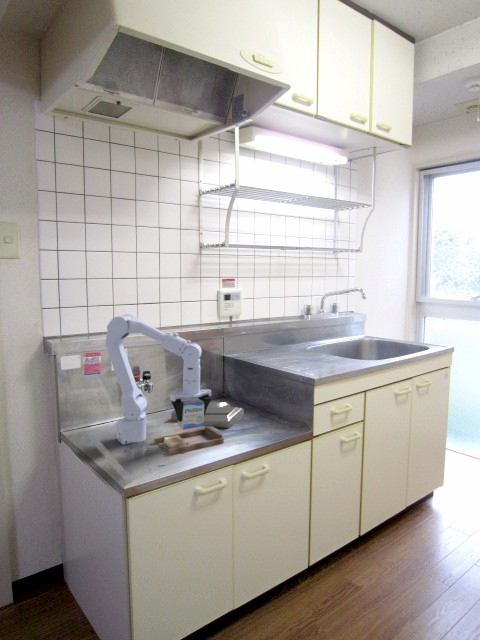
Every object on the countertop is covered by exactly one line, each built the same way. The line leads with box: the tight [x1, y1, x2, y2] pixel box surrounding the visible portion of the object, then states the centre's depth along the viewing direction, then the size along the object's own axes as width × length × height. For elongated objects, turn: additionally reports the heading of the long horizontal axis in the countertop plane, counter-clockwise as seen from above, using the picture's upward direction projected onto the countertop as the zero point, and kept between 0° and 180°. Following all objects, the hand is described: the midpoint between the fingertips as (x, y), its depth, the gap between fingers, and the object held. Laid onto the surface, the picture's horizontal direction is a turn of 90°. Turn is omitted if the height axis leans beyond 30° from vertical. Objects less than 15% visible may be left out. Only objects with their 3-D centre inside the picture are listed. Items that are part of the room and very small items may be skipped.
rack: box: [153, 425, 225, 456], centre depth 146 cm, size 20×12×4 cm, turn 124°
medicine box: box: [177, 398, 205, 430], centre depth 147 cm, size 8×4×9 cm, turn 122°
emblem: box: [170, 401, 245, 429], centre depth 176 cm, size 28×5×28 cm
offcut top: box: [163, 435, 188, 449], centre depth 144 cm, size 5×7×2 cm
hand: (190, 418), depth 147 cm, fingers closed on medicine box, 7 cm apart
